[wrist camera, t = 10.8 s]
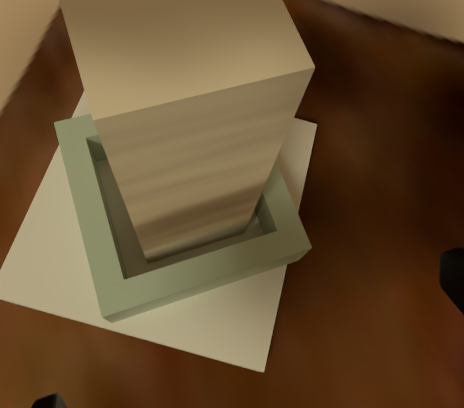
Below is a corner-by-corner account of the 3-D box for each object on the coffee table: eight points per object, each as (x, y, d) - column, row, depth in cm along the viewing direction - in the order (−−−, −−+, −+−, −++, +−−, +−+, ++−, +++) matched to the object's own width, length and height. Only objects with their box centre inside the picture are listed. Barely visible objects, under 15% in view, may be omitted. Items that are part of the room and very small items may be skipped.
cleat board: (270, 375, 21) (286, 376, 17) (-3, 298, 21) (-39, 285, 17) (320, 135, 25) (340, 101, 22) (100, 74, 25) (88, 31, 22)
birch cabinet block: (244, 233, 22) (315, 67, 10) (147, 263, 21) (93, 120, 9) (208, 136, 24) (230, -107, 11) (117, 160, 23) (37, -79, 10)
